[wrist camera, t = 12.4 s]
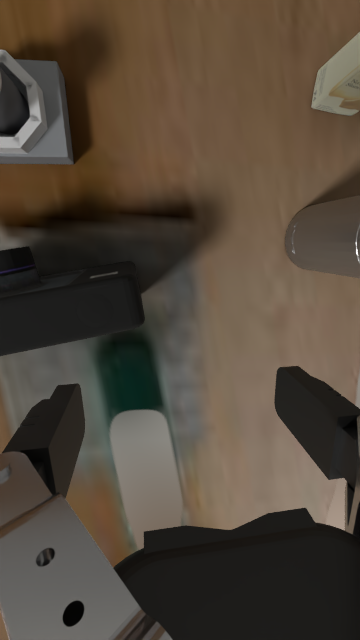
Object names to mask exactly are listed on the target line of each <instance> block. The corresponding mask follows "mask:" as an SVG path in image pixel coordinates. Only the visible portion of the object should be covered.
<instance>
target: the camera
mask: <svg viewBox="0 0 360 640" xmlns="http://www.w3.org/2000/svg"><path fill="white" fill-rule="evenodd" d="M144 320H145V317H144V311H143V305H142V298H141V293H140V288H139V283H138V279H137V274H136V269H135V265H134V263H133V262H130V261H128V262H121V263H115V264H110V265H104V266H98V267H93V268H87V269H81V270H76V271H70V272H65V273H59V274H53V275H48V276H42V277H39V275H38V272H37V269H36V267H35V263H34V260H33V257H32V254H31V251H30V247H29V246H28V247H21V248H15V249H8V250H2V251H0V356H3V355H8V354H13V353H18V352H23V351H28V350H33V349H37V348H42V347H47V346H52V345H57V344H62V343H67V342H72V341H77V340H82V339H87V338H91V337H96V336H101V335H106V334H111V333H116V332H121V331H126V330H131V329H135V328H137V327H139V326H141V325H142V324H143V323H144Z"/></svg>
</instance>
